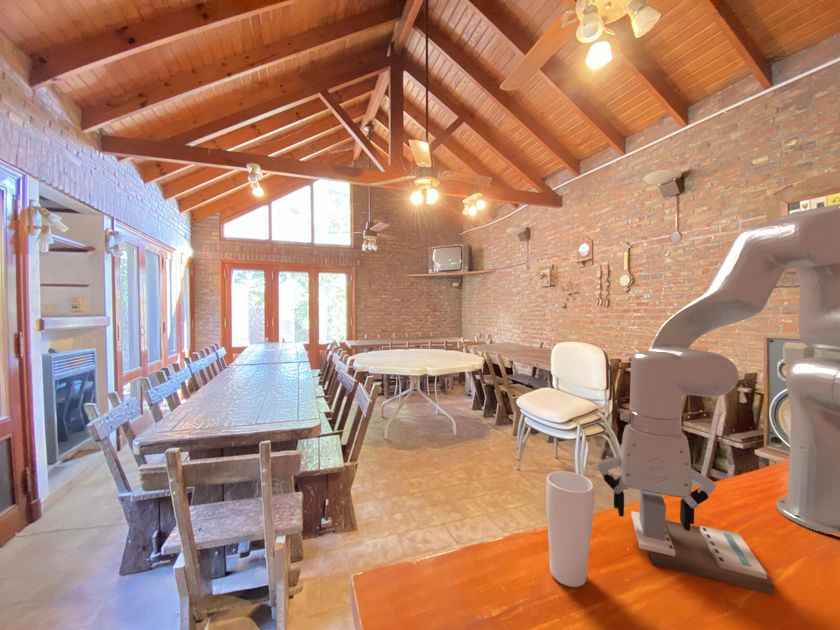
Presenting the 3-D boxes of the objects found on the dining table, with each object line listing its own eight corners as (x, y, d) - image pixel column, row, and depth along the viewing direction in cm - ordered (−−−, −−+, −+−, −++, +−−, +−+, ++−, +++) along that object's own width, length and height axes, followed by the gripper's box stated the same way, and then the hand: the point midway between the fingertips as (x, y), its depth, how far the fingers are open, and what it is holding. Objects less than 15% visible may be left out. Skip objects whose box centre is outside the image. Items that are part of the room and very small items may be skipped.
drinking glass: (570, 556, 60) (572, 468, 59) (602, 587, 53) (604, 488, 53) (535, 565, 58) (537, 473, 57) (564, 598, 51) (566, 496, 51)
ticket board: (640, 522, 69) (640, 510, 69) (739, 543, 63) (740, 530, 63) (652, 564, 58) (652, 550, 58) (774, 595, 52) (775, 579, 52)
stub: (631, 515, 69) (632, 480, 68) (661, 521, 67) (662, 485, 66) (639, 548, 59) (640, 508, 59) (675, 556, 57) (676, 515, 57)
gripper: (600, 422, 62) (597, 519, 63) (725, 438, 55) (721, 546, 56) (597, 410, 69) (595, 497, 70) (708, 423, 62) (705, 519, 63)
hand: (651, 519), depth 63 cm, fingers open, 9 cm apart
